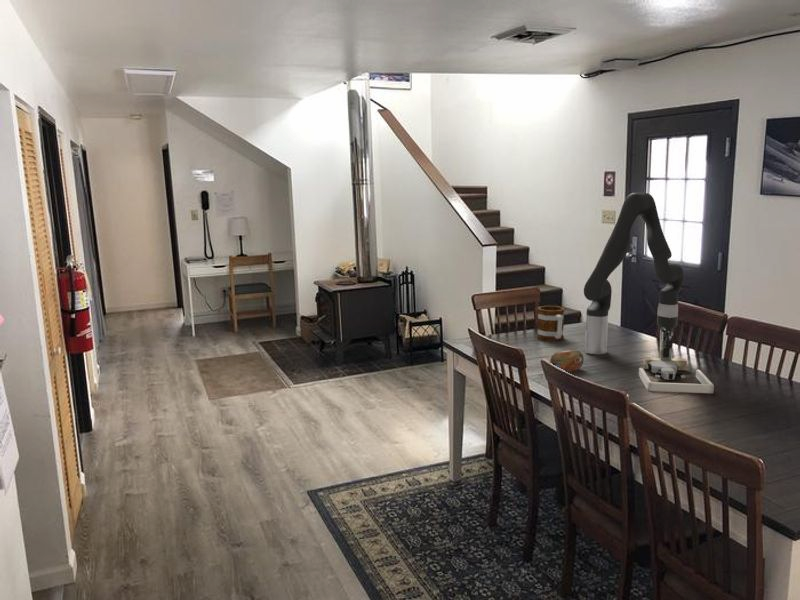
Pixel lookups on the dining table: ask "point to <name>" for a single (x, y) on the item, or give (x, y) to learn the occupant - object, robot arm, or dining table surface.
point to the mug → (550, 323)
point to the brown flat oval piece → (567, 360)
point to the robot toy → (665, 369)
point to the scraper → (666, 359)
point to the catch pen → (678, 384)
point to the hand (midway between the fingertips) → (665, 355)
